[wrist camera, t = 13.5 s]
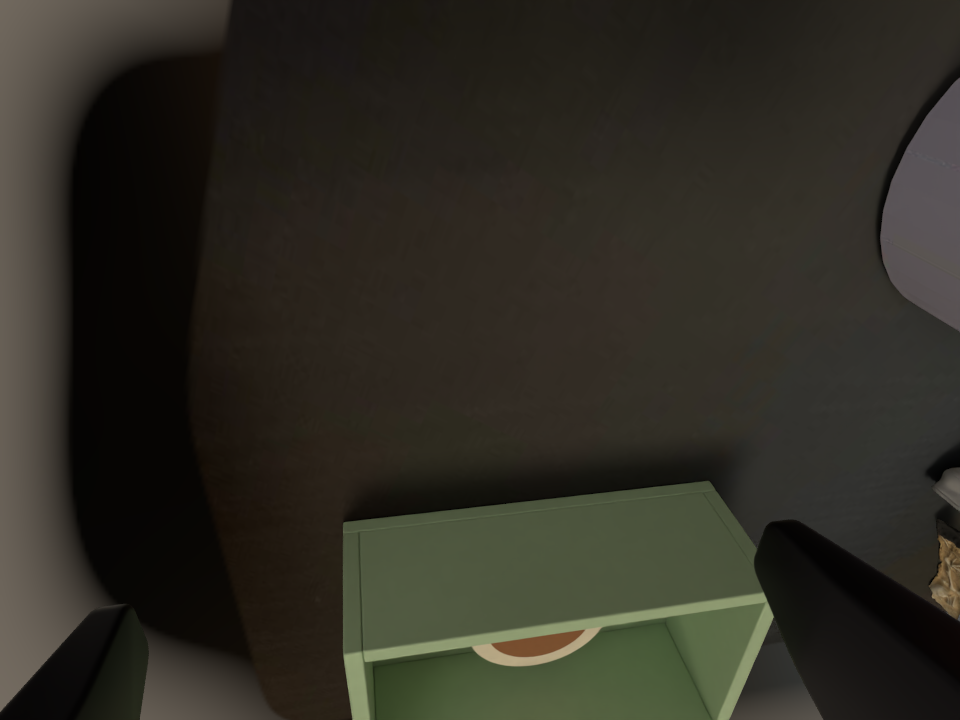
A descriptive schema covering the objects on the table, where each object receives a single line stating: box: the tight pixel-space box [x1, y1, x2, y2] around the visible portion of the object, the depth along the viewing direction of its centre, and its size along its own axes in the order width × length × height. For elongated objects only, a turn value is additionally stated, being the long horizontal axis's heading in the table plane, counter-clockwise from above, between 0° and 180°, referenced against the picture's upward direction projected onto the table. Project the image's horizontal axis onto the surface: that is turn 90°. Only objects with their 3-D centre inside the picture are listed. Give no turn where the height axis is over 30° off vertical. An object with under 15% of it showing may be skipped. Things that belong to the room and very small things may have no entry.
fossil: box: [929, 520, 960, 619], centre depth 33 cm, size 8×2×1 cm, turn 21°
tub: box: [343, 481, 774, 720], centre depth 26 cm, size 15×9×6 cm, turn 88°
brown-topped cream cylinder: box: [472, 627, 602, 667], centre depth 27 cm, size 6×6×2 cm
